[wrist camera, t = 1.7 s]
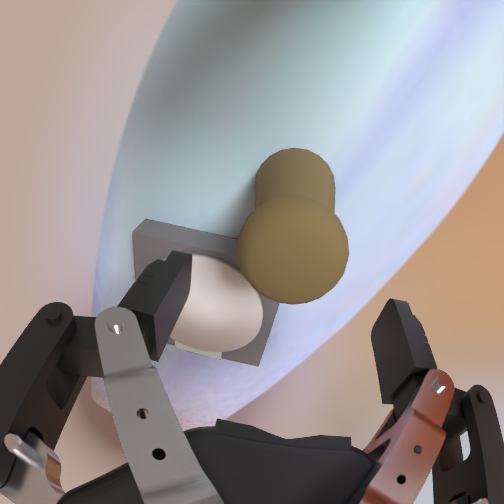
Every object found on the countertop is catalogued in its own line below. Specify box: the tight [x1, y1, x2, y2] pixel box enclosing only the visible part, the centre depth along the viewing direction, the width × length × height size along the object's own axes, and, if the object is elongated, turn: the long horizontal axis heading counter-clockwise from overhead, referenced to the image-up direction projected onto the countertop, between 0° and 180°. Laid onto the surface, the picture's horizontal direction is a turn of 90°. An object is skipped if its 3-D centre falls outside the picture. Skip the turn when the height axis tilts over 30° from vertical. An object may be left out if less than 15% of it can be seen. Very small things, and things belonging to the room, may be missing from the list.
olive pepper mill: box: [237, 148, 349, 304], centre depth 17 cm, size 6×6×11 cm
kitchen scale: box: [133, 219, 279, 366], centre depth 27 cm, size 13×13×3 cm
